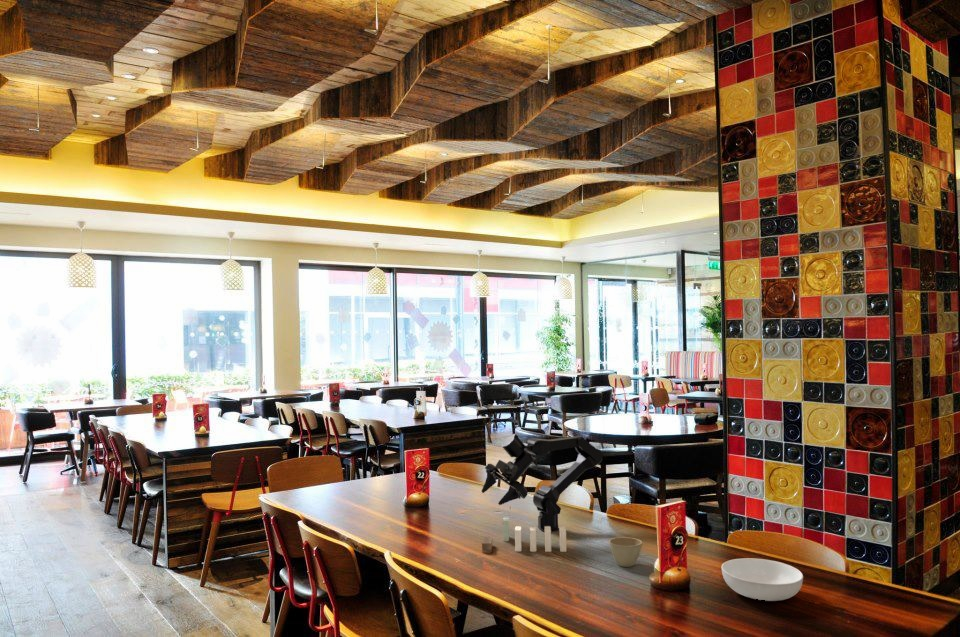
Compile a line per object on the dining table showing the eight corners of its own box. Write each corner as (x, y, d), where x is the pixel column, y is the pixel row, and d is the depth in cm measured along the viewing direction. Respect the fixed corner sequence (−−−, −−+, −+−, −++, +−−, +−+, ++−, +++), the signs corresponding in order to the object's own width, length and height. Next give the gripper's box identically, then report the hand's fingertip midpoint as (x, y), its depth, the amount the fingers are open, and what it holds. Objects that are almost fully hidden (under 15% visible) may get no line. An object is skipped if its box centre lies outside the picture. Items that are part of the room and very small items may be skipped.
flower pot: (643, 560, 224) (643, 538, 225) (640, 570, 215) (639, 547, 215) (612, 558, 228) (611, 535, 228) (607, 567, 218) (607, 544, 218)
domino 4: (565, 547, 240) (565, 526, 240) (566, 551, 235) (566, 530, 235) (559, 547, 240) (559, 526, 240) (560, 551, 235) (559, 530, 235)
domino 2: (536, 547, 241) (535, 526, 241) (536, 551, 236) (535, 530, 236) (530, 546, 241) (529, 526, 241) (530, 551, 236) (529, 530, 236)
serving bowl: (762, 615, 180) (761, 588, 180) (705, 588, 199) (705, 564, 200) (821, 601, 189) (820, 575, 189) (761, 577, 208) (761, 554, 208)
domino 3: (550, 547, 240) (550, 526, 240) (551, 551, 235) (550, 530, 235) (544, 547, 240) (544, 526, 241) (545, 551, 235) (544, 530, 236)
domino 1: (521, 546, 241) (521, 526, 241) (521, 551, 236) (520, 530, 236) (515, 546, 241) (515, 526, 241) (515, 551, 236) (514, 530, 236)
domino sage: (509, 537, 253) (508, 517, 253) (508, 541, 248) (508, 521, 248) (503, 537, 253) (503, 517, 253) (503, 541, 248) (502, 521, 248)
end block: (492, 545, 243) (492, 536, 243) (491, 552, 235) (491, 543, 235) (483, 545, 243) (483, 536, 243) (482, 552, 235) (482, 543, 235)
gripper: (494, 442, 259) (465, 474, 254) (529, 464, 246) (499, 498, 241) (504, 459, 266) (476, 490, 261) (539, 482, 253) (511, 515, 248)
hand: (490, 498), depth 252 cm, fingers open, 9 cm apart
